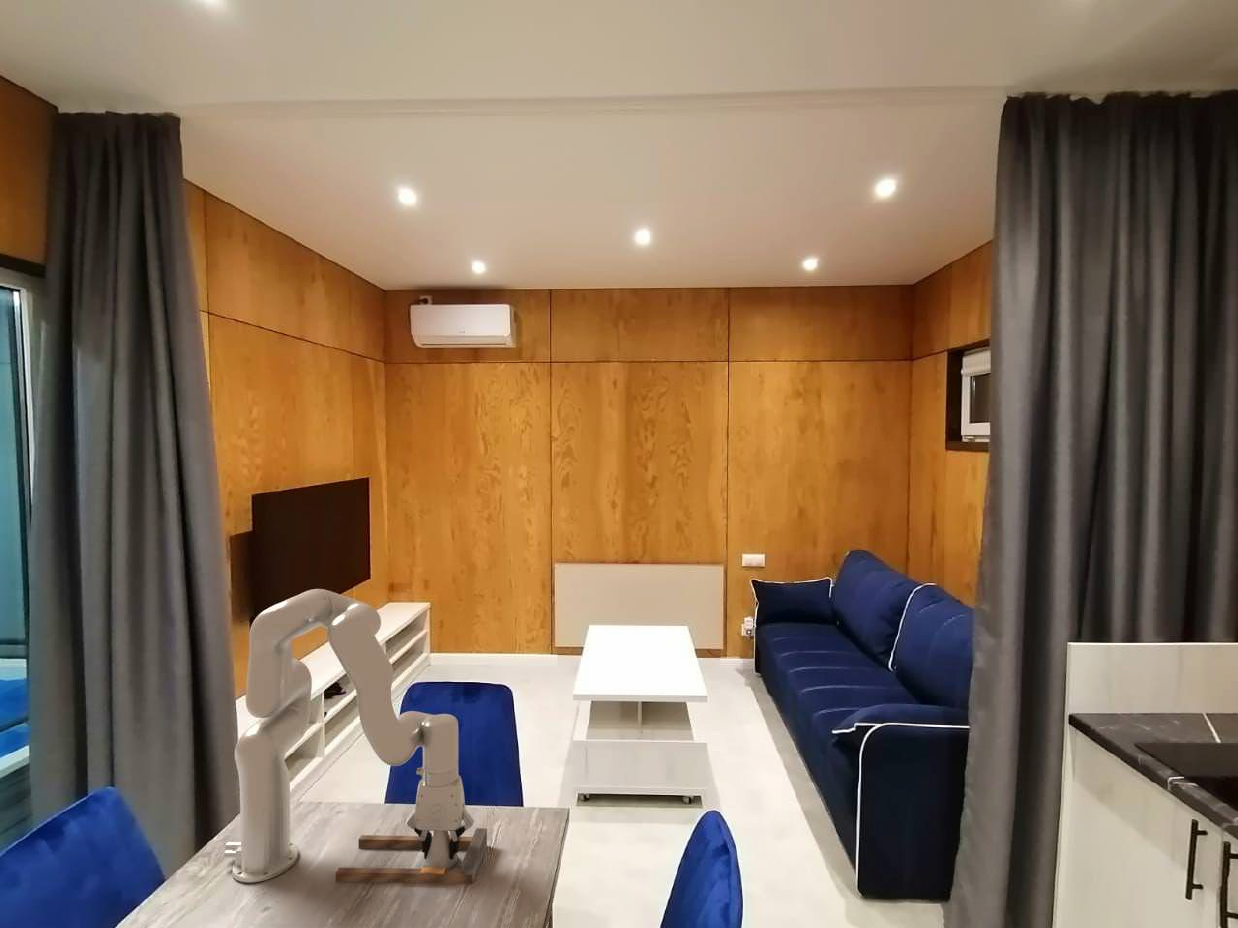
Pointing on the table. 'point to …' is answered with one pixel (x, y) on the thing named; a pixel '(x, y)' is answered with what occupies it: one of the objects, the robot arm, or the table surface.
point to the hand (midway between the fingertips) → (440, 854)
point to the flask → (440, 851)
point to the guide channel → (424, 875)
